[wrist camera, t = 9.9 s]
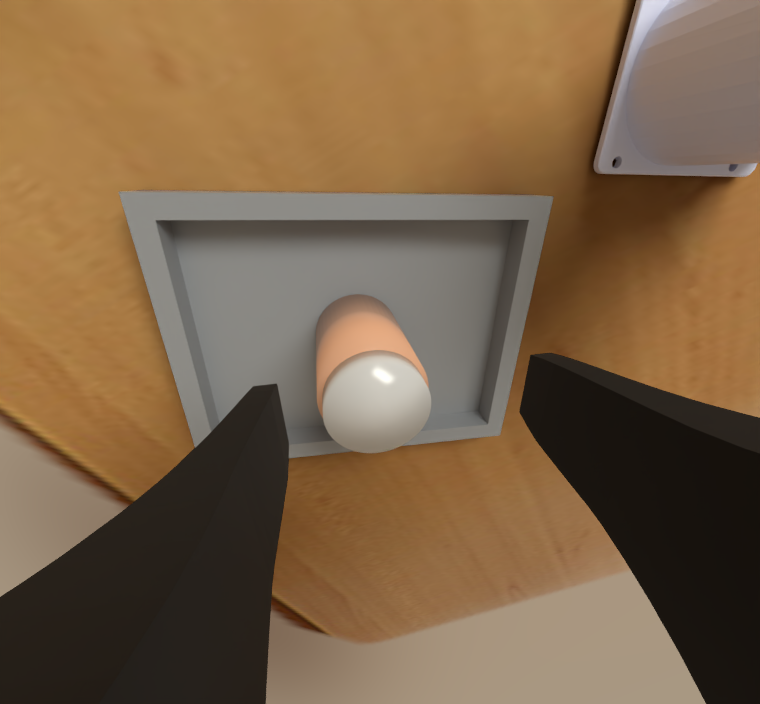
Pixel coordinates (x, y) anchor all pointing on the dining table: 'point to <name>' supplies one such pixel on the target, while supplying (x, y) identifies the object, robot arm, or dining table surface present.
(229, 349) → the tray
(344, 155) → the dining table surface
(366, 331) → the shaker
